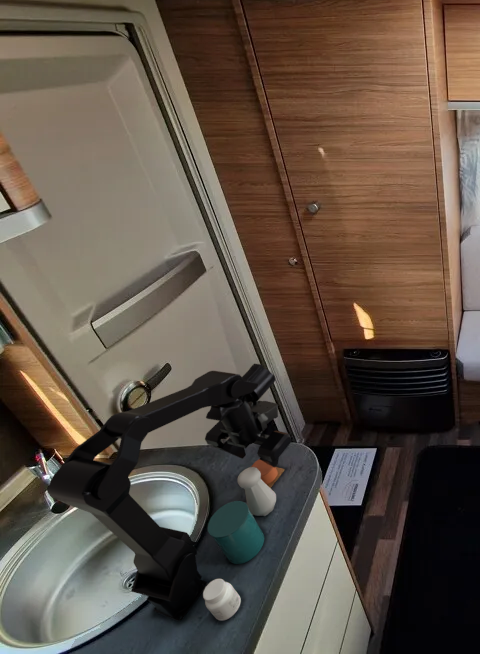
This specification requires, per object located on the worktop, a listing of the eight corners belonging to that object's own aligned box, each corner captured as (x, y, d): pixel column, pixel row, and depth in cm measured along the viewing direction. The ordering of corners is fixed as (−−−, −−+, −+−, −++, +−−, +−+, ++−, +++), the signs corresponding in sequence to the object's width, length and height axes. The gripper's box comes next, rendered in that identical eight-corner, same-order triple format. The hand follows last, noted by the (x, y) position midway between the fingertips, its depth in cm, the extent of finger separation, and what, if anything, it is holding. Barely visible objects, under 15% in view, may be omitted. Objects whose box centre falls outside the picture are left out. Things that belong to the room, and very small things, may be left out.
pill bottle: (237, 588, 82) (223, 569, 78) (244, 607, 80) (230, 589, 76) (212, 607, 80) (196, 588, 76) (218, 627, 77) (203, 609, 73)
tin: (247, 569, 85) (228, 541, 79) (219, 559, 87) (198, 531, 81) (272, 533, 91) (256, 505, 85) (245, 525, 93) (227, 497, 87)
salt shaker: (271, 520, 93) (253, 487, 87) (246, 520, 94) (226, 486, 87) (283, 495, 98) (267, 462, 92) (259, 495, 98) (241, 461, 92)
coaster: (268, 490, 99) (268, 489, 99) (249, 485, 101) (248, 484, 100) (284, 470, 104) (284, 469, 104) (266, 464, 105) (265, 463, 105)
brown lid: (268, 488, 99) (263, 478, 97) (250, 483, 101) (244, 473, 99) (283, 469, 104) (278, 459, 102) (265, 464, 105) (260, 454, 103)
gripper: (298, 398, 95) (314, 441, 104) (231, 383, 100) (252, 425, 108) (263, 438, 86) (283, 482, 95) (191, 419, 90) (217, 463, 99)
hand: (259, 461), depth 99 cm, fingers open, 9 cm apart
